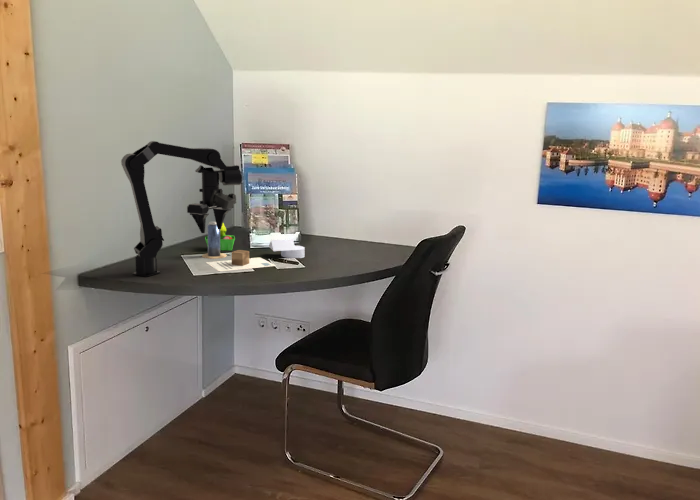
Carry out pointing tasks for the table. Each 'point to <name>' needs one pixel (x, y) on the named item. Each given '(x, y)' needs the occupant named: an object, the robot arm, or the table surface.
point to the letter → (228, 266)
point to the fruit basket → (224, 239)
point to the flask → (213, 240)
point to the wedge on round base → (287, 248)
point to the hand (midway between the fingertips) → (211, 231)
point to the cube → (240, 257)
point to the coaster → (215, 256)
